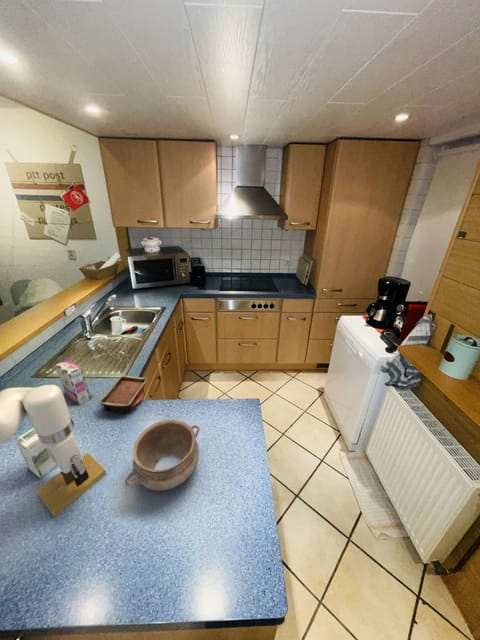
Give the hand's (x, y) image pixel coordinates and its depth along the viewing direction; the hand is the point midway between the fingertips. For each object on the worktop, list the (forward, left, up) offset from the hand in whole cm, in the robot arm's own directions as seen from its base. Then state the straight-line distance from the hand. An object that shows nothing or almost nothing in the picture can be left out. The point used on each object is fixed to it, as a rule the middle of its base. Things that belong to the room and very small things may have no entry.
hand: (74, 472), depth 72 cm
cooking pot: (+18, -19, -5) cm, 27 cm away
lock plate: (-1, 0, -5) cm, 5 cm away
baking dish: (+28, +18, -5) cm, 34 cm away
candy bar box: (+18, +37, -5) cm, 42 cm away
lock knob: (0, 0, -2) cm, 2 cm away
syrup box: (-3, +13, -5) cm, 14 cm away
